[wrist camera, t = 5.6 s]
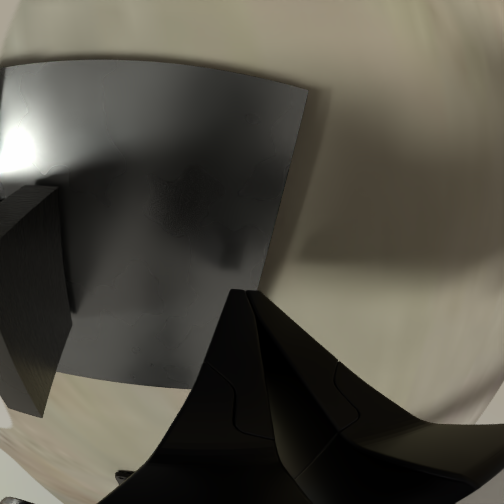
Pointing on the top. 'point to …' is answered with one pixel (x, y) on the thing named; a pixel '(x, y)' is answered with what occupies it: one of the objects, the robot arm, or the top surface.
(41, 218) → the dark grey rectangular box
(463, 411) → the top surface
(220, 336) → the robot arm
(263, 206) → the grey tray
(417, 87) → the top surface
